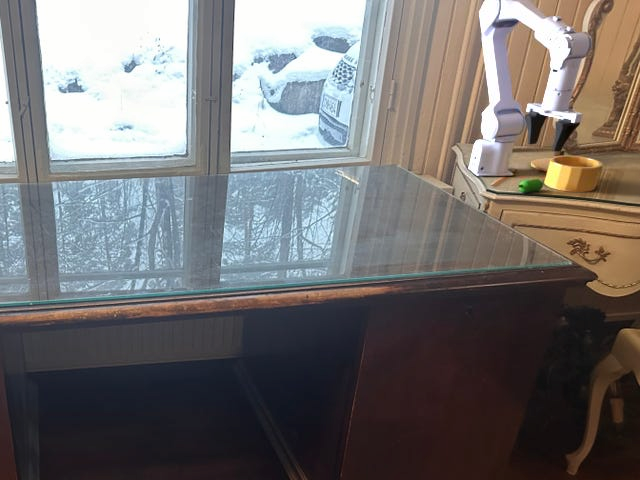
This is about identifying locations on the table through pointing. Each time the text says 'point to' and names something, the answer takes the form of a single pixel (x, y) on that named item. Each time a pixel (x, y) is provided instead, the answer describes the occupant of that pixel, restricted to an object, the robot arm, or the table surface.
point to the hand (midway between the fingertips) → (544, 147)
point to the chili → (530, 185)
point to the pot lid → (545, 161)
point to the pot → (573, 173)
